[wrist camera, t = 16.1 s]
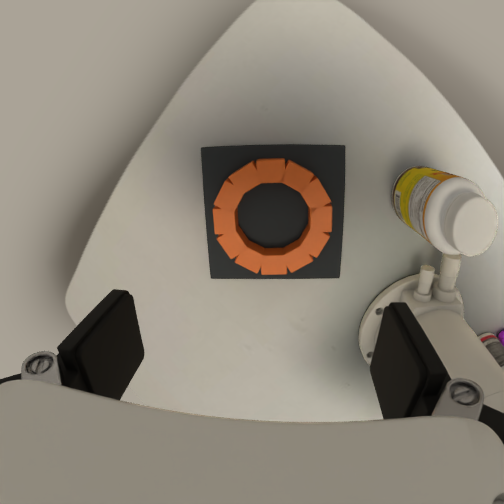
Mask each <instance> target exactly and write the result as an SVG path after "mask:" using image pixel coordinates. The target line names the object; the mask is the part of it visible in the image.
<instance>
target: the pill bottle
mask: <svg viewBox="0 0 504 504" xmlns="http://www.w3.org/2000/svg"><path fill="white" fill-rule="evenodd" d="M478 338H479V339H480V340H481V342H482V343H483V344H484V346H485V347H486V348H487V349H488V351H489V352H490V353H491V355H492V356H493V358H494V359H495V360H496V362H497V363H498V364H499V366H500V367H501V369H502V370H503V371H504V346H503V345H502V344H501V343H500V341H499V340H498V339H497V338H496V336H495V335H494V334H492V333H484V334H482V335H480V336H479V337H478Z"/></svg>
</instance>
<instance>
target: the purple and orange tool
mask: <svg viewBox="0 0 504 504" xmlns="http://www.w3.org/2000/svg"><path fill="white" fill-rule="evenodd" d="M498 338H499V340H500V343H501V344H502V345H503V346H504V330H502V331H501V332H500V333H499V335H498Z"/></svg>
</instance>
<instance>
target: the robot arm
mask: <svg viewBox="0 0 504 504" xmlns="http://www.w3.org/2000/svg"><path fill="white" fill-rule="evenodd" d="M461 259H462V257H461V256H460V255H459V254H458V255H449V254H445V253H443V256H442V262H441V267H440V276H439V275H436V274H434V272H435V269H434V268H433V267H432V266H429V265H423V266H421V269H420V274H416V275H413V276H409V277H406V278H404V279H402V280H399V281H397V282H395V283H394V284H392V285H391V286H389V287H388V288H386V289H385V290H384V291H383V292H382V293H381V294H380V295H378V296H377V297H376V299H375V300H374V301H373V302H372V304H371V305H370V306H369V308H368V309H367V311H366V313H365V314H364V316H363V319H362V322H361V324H360V329H359V345H360V349H361V352H362V355H363V357H364V359H365V360H366V362H367V363H368V364H369V365H370V373H371V376H372V380H373V383H374V386H375V390H376V393H377V397H378V400H379V404H380V408H381V411H382V415H383V419H382V420H369V421H349V422H278V421H258V420H244V419H233V418H223V417H214V416H205V415H198V414H190V413H184V412H177V411H171V410H165V409H159V408H154V407H149V406H143V405H139V404H133V403H129V402H124V401H120V399H121V397H122V395H123V393H124V392H125V390H126V388H127V386H128V385H129V383H130V381H131V379H132V378H133V376H134V374H135V372H136V371H137V369H138V367H139V366H140V364H141V362H142V360H143V358H144V347H143V343H142V339H141V334H140V329H139V325H138V320H137V315H136V310H135V304H134V299H133V296H132V295H130V294H129V292H128V291H126V290H116V289H113V290H112V291H111V292H110V293H109V294H108V295H107V296H106V297H105V298H104V299H103V300H102V301H101V302H100V303H99V304H98V305H97V306H96V307H95V308H94V309H93V310H92V311H91V312H90V313H89V314H88V315H87V316H86V317H85V318H84V319H83V320H82V321H81V322H80V324H79V325H78V326H77V327H76V328H75V329H74V330H73V331H72V332H71V333H70V334H69V335H68V336H67V337H66V338H65V340H63V342H62V343H61V344H60V345H59V346H58V347H57V349H58V351H59V354H58V355H57V356H56V355H55V354H54V353H52V352H48V351H41V352H37V353H34V354H32V355H30V356H29V357H28V358H26V359H25V361H24V362H23V364H22V373H21V374H17V375H13V376H10V377H6V378H3V379H0V504H504V371H503V370H502V369H501V367H500V366H499V364H498V363H497V362H496V360H495V359H494V358H493V356H492V355H491V353H490V352H489V351H488V349H487V348H486V347H485V346H484V344H483V343H482V342H481V340H480V339H479V338H478V336H477V335H476V334H475V333H474V331H473V330H472V329H471V328H470V326H469V325H468V324H467V323H466V321H465V320H464V319H463V316H464V303H463V300H462V296H461V294H460V293H459V291H458V289H457V288H456V286H455V282H456V278H457V276H458V273H459V269H460V264H461Z"/></svg>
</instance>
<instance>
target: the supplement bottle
mask: <svg viewBox="0 0 504 504" xmlns="http://www.w3.org/2000/svg"><path fill="white" fill-rule="evenodd" d="M392 205H393V208H394V210H395V212H396V214H397V216H398V217H399V218H400V219H401V220H402V221H403V222H404V223H406V224H407V225H408V226H409V227H411V228H412V229H413V230H414V231H416V232H417V233H418V234H419V235H421V236H422V237H423V238H425V239H426V240H427V241H428V242H429V243H431V244H432V245H433V246H434V247H436V248H437V249H438V250H439V251H441V252H443V253H445V254H449V255H458V254H463V255H466V256H477V255H479V254H481V253H483V252H484V251H486V250H487V249H488V247H489V246H490V245H491V244H492V242H493V240H494V238H495V235H496V232H497V227H498V217H497V212H496V210H495V207H494V206H493V204H492V203H491V202H490V201H489V200H488V199H486V198H485V196H484V194H483V192H482V191H481V189H480V188H479V187H478V186H477V185H476V184H475V183H474V182H472V181H470V180H468V179H466V178H463V177H459V176H456V175H453V174H449V173H446V172H443V171H439V170H436V169H432V168H428V167H424V166H414V167H411V168H408V169H406V170H405V171H403V172H402V173H401V174H400V175H399V176H398V178H397V179H396V181H395V183H394V186H393V189H392Z"/></svg>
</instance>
